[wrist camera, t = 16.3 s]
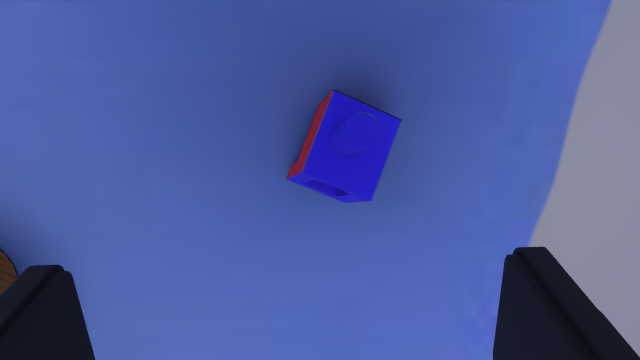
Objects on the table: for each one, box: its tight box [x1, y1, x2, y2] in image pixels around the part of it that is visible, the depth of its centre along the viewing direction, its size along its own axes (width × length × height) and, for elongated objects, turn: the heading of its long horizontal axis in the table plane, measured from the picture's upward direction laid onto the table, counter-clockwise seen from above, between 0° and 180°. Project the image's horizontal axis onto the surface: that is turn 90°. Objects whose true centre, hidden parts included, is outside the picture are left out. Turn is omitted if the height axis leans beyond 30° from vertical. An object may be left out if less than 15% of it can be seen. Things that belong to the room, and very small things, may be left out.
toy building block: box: [287, 90, 401, 203], centre depth 24 cm, size 4×4×8 cm
